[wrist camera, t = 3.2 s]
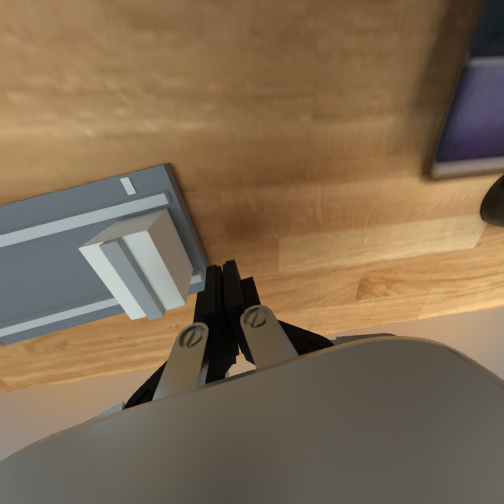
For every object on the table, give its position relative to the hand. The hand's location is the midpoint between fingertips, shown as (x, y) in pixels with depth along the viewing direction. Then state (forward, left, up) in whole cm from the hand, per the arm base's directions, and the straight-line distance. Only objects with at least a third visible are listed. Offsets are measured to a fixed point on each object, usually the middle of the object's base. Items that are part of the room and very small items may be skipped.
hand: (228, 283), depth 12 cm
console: (+16, -1, -9) cm, 18 cm away
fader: (+6, -1, -7) cm, 9 cm away
